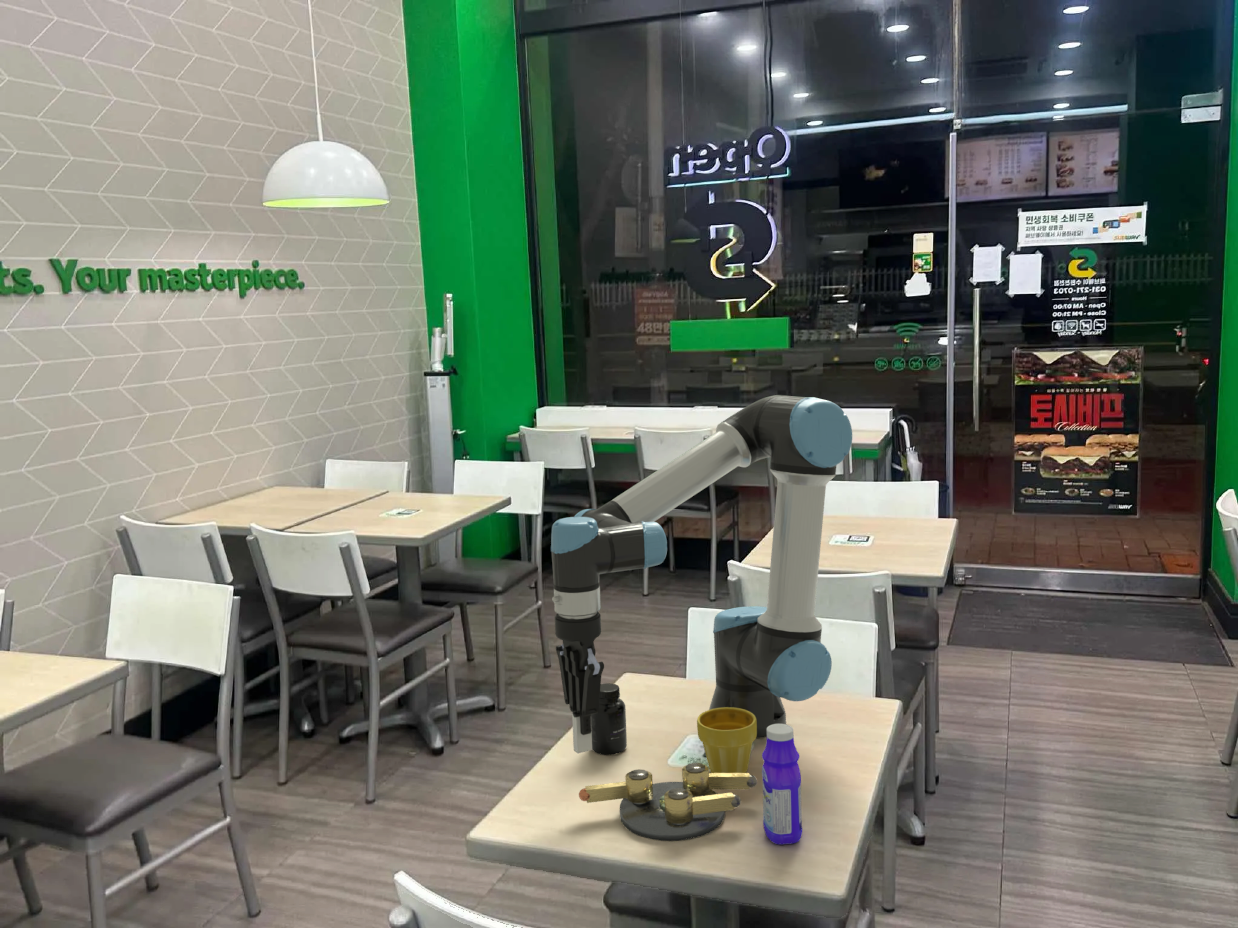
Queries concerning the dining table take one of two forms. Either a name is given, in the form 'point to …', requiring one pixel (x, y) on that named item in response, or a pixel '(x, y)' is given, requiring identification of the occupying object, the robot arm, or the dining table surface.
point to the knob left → (713, 779)
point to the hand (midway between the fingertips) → (582, 749)
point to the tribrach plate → (652, 817)
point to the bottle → (781, 786)
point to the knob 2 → (695, 804)
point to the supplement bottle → (609, 722)
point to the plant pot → (727, 738)
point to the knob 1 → (622, 789)
